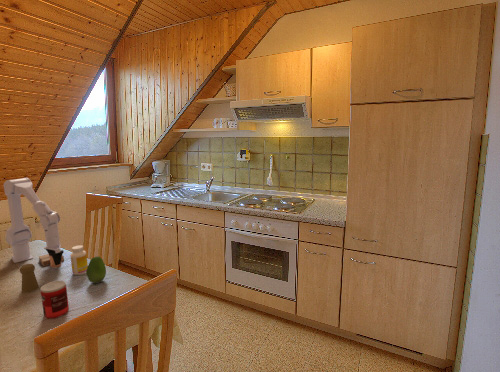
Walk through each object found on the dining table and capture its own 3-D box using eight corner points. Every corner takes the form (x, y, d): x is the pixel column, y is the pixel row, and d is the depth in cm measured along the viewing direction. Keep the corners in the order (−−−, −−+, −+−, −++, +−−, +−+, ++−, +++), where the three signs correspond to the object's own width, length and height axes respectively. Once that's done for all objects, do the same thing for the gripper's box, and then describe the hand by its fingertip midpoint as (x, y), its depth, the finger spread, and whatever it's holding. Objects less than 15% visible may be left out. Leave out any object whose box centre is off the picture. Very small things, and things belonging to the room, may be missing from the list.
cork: (42, 286, 128) (38, 263, 126) (28, 293, 123) (24, 269, 121) (32, 284, 130) (29, 261, 128) (18, 291, 125) (14, 267, 123)
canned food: (51, 307, 113) (47, 280, 111) (73, 306, 114) (69, 279, 112) (39, 319, 106) (35, 291, 104) (62, 318, 106) (58, 290, 104)
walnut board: (39, 261, 154) (38, 256, 154) (59, 255, 161) (58, 251, 160) (43, 266, 148) (43, 261, 148) (64, 260, 155) (63, 256, 154)
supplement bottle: (91, 269, 144) (88, 244, 142) (82, 275, 138) (79, 250, 136) (78, 268, 145) (75, 244, 143) (69, 275, 139) (66, 249, 136)
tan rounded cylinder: (49, 265, 149) (48, 255, 148) (60, 262, 152) (58, 252, 151) (52, 268, 146) (50, 258, 145) (62, 265, 149) (61, 255, 148)
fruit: (111, 279, 134) (108, 255, 132) (95, 288, 127) (92, 262, 125) (99, 276, 137) (96, 252, 135) (83, 284, 130) (80, 258, 128)
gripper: (39, 235, 148) (42, 260, 150) (46, 242, 138) (50, 269, 141) (55, 232, 153) (58, 256, 155) (63, 238, 143) (67, 264, 146)
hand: (56, 262), depth 148 cm, fingers open, 6 cm apart
